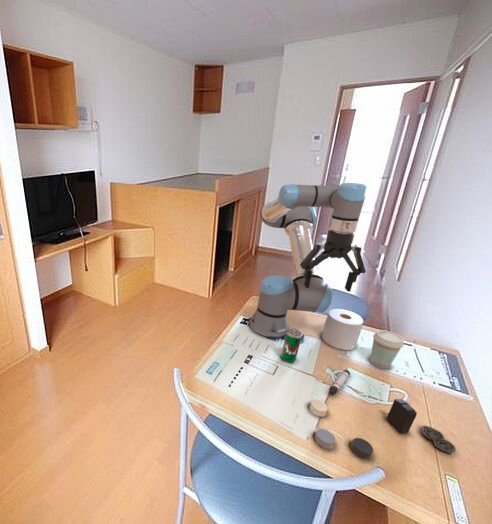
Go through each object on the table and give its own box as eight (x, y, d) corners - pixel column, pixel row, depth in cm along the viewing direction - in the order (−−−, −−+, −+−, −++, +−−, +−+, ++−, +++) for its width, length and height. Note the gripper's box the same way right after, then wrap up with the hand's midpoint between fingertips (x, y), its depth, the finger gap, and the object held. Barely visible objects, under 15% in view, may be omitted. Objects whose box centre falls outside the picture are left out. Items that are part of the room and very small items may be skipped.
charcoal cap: (347, 449, 80) (350, 443, 79) (354, 440, 83) (357, 434, 82) (366, 462, 77) (369, 456, 76) (373, 453, 79) (376, 447, 79)
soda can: (294, 356, 115) (301, 329, 110) (296, 364, 110) (303, 337, 106) (280, 353, 116) (286, 326, 112) (281, 361, 112) (287, 334, 107)
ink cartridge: (408, 433, 85) (418, 412, 82) (400, 434, 85) (410, 412, 81) (393, 418, 89) (402, 398, 86) (386, 418, 89) (395, 398, 86)
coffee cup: (384, 356, 115) (394, 329, 110) (399, 372, 107) (411, 344, 102) (360, 354, 116) (369, 328, 111) (374, 370, 108) (384, 342, 103)
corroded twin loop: (442, 455, 79) (443, 452, 78) (414, 428, 86) (416, 425, 86) (460, 454, 79) (462, 452, 78) (431, 427, 86) (433, 425, 86)
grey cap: (311, 439, 83) (313, 434, 82) (319, 431, 85) (321, 425, 84) (328, 452, 79) (330, 446, 79) (336, 443, 82) (338, 437, 81)
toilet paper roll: (357, 339, 124) (365, 315, 120) (353, 354, 116) (361, 328, 111) (324, 328, 131) (331, 305, 127) (318, 341, 123) (325, 317, 119)
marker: (343, 373, 106) (344, 368, 106) (349, 376, 105) (351, 371, 104) (326, 395, 97) (327, 390, 96) (332, 399, 96) (334, 394, 95)
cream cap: (306, 409, 92) (308, 403, 91) (313, 402, 95) (315, 397, 94) (321, 419, 89) (323, 413, 88) (328, 412, 91) (330, 406, 90)
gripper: (304, 232, 100) (292, 289, 108) (389, 236, 96) (370, 296, 104) (298, 226, 107) (287, 280, 115) (377, 230, 102) (360, 286, 110)
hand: (326, 288), depth 109 cm, fingers open, 13 cm apart
